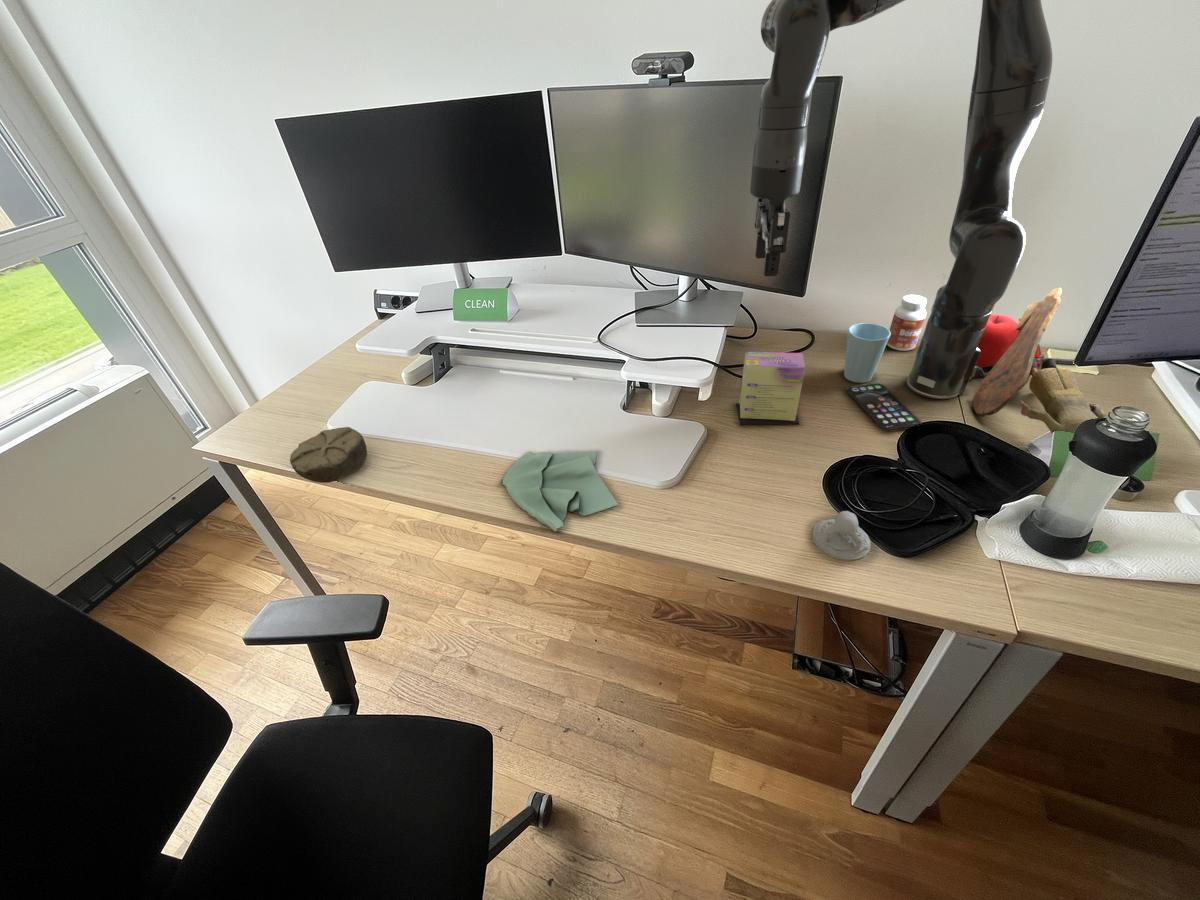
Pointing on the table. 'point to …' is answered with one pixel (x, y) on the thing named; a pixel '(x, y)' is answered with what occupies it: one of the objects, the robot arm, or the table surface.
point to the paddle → (1016, 358)
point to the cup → (864, 350)
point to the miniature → (842, 537)
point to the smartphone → (883, 407)
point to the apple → (996, 339)
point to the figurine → (1059, 399)
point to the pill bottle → (907, 323)
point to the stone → (329, 455)
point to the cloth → (557, 486)
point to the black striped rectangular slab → (764, 420)
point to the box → (771, 385)
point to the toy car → (1037, 353)
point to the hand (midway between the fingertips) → (765, 266)
